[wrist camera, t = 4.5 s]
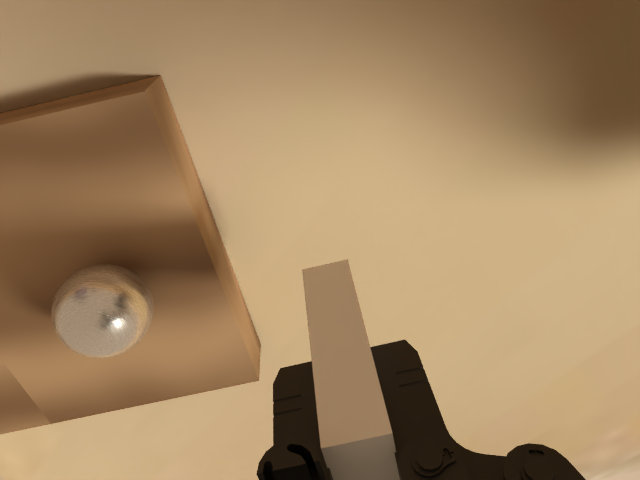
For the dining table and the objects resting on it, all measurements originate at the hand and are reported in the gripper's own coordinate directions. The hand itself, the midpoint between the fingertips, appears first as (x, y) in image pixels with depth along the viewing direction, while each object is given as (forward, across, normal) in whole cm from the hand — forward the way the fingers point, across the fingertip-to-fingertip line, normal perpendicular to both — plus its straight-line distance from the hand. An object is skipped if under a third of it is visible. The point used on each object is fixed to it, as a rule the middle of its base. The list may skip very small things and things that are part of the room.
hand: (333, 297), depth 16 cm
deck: (+7, -14, 0) cm, 15 cm away
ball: (+4, -8, 0) cm, 9 cm away
